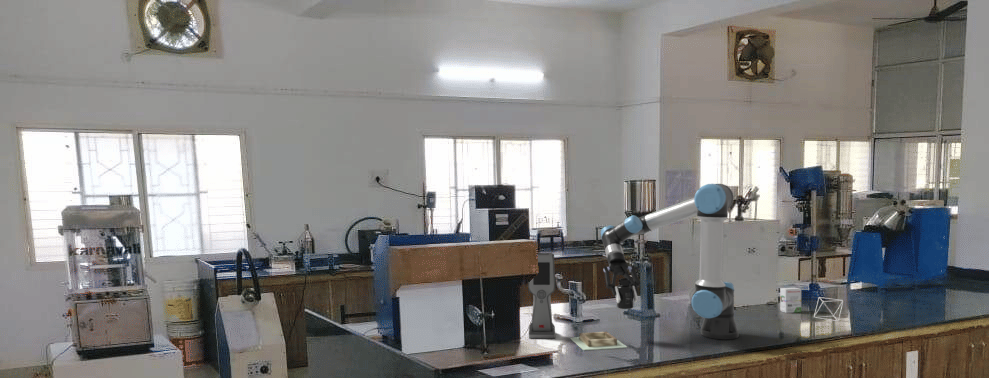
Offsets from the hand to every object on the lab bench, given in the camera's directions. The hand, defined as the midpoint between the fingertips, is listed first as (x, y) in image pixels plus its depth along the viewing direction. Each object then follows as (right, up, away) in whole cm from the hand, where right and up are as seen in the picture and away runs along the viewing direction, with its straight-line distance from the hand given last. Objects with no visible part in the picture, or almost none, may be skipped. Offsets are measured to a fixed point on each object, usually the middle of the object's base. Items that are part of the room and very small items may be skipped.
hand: (627, 301), depth 245 cm
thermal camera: (-34, -17, +11) cm, 40 cm away
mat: (-13, -17, -2) cm, 21 cm away
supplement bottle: (0, -4, +4) cm, 5 cm away
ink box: (+93, -15, +51) cm, 107 cm away
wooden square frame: (-13, -17, -2) cm, 21 cm away
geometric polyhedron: (+104, -15, +37) cm, 111 cm away
